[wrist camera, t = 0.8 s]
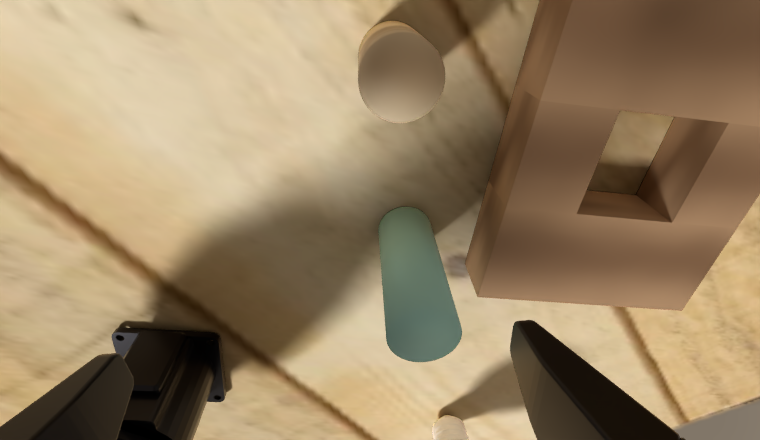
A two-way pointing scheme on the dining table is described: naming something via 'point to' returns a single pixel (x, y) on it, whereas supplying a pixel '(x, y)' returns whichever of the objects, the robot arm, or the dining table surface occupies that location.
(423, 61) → the short beech pin
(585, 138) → the walnut hole block
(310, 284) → the dining table surface
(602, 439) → the robot arm
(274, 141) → the dining table surface
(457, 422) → the lightbulb
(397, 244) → the long teal pin
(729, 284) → the dining table surface
